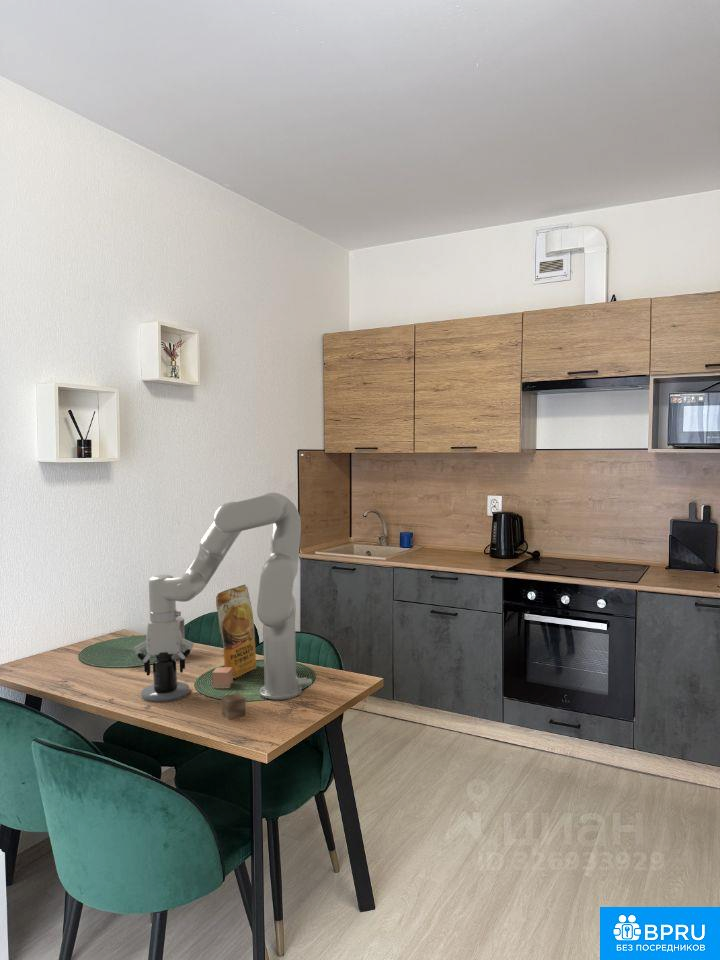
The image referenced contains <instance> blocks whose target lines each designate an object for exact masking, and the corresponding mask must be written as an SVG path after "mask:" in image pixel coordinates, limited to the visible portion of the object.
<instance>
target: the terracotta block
mask: <svg viewBox="0 0 720 960" xmlns="http://www.w3.org/2000/svg"><path fill="white" fill-rule="evenodd" d="M211 673H212V674H211V675H212V677H211V678H212V688H213V687H229V686H230V684H231V683H232V682H233V683H234V679H233V672H232V667H224V666H221V667H220V666H219V667H215V669H214V670H213V671H212V672H211ZM233 683H232V684H233ZM230 687H231V686H230ZM230 687H229V688H230Z"/></svg>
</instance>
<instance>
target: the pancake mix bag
mask: <svg viewBox="0 0 720 960" xmlns="http://www.w3.org/2000/svg"><path fill="white" fill-rule="evenodd" d="M248 589H249V588H248V586H246V584H242V585H238V586H236V587H233V588H229V589H226V590H223V591H220V592H218V593H217V595H216V597H215V605H216V606H215V607H216V611H217V617H218V627H219V632H220V635H221V639H222V647H223V648H222V649H223V659H224V661H223V662H224V666H223V667H232V672H233V678H235V679H237V678H236V677H238V678H240V677H242V676H241V675H243V674H245V673H247V672H249V671H251V670H253V669H255V668H256V669H257V660H256V658H257V657H256V652H257V651H256V640H255V637H256V636H255V623H254V613H253V607H252V603H251V602H252V601H251V599H250V593H249V590H248ZM256 669H255V670H256ZM253 671H254V670H253ZM251 672H252V671H251ZM249 673H250V672H249ZM247 674H248V673H247ZM245 675H246V674H245ZM239 676H240V677H239ZM243 676H244V675H243Z"/></svg>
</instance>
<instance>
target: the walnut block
mask: <svg viewBox="0 0 720 960" xmlns="http://www.w3.org/2000/svg"><path fill="white" fill-rule="evenodd" d="M246 704H247V703H246V698H245V696H243V694H241V693H240V692H236V693H232V694H227V695H224V696H221V715H222V716H224V717H225V718H226V719H227V720H228V721H230V720H234V719H239V718H242V717H246V716H247V709H246V706H247V705H246Z"/></svg>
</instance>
